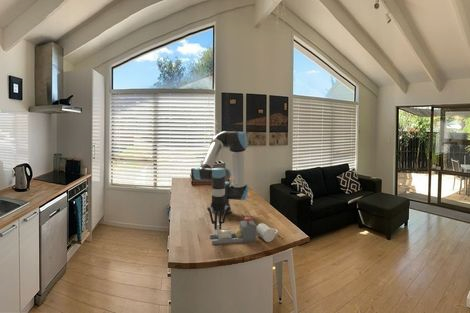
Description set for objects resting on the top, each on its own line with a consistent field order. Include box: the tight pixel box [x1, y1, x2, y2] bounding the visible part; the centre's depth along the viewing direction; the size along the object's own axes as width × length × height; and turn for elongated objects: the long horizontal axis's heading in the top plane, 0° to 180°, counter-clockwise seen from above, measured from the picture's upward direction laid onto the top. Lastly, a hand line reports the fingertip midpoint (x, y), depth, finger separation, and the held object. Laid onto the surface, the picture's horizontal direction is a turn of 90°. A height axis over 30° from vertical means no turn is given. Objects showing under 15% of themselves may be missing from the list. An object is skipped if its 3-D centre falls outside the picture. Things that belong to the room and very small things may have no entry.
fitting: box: [218, 229, 232, 239], centre depth 158 cm, size 6×7×6 cm
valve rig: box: [209, 216, 258, 245], centre depth 159 cm, size 10×26×13 cm, turn 102°
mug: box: [256, 223, 279, 243], centre depth 164 cm, size 12×10×8 cm
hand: (217, 234), depth 157 cm, fingers closed
